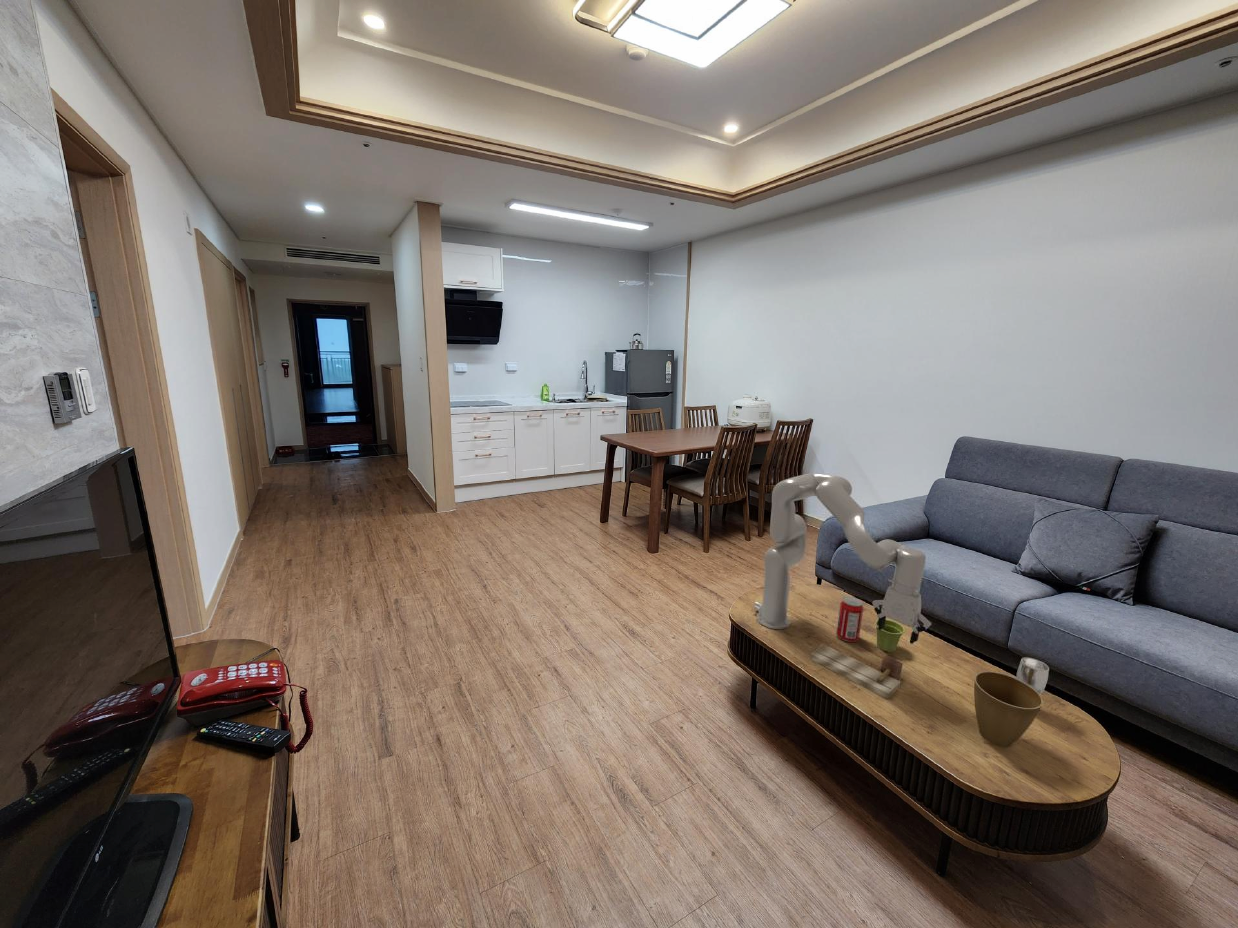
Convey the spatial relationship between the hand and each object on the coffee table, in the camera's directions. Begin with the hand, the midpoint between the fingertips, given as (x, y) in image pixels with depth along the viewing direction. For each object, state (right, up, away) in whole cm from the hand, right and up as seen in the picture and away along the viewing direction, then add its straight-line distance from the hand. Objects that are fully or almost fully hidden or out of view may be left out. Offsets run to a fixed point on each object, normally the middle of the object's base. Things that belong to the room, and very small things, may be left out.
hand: (896, 634), depth 161 cm
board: (-12, -14, +5) cm, 19 cm away
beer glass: (+34, -19, -9) cm, 40 cm away
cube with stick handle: (-3, -16, +1) cm, 16 cm away
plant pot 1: (+7, -12, +20) cm, 24 cm away
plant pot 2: (+16, -22, -21) cm, 34 cm away
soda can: (-4, -10, +26) cm, 28 cm away
